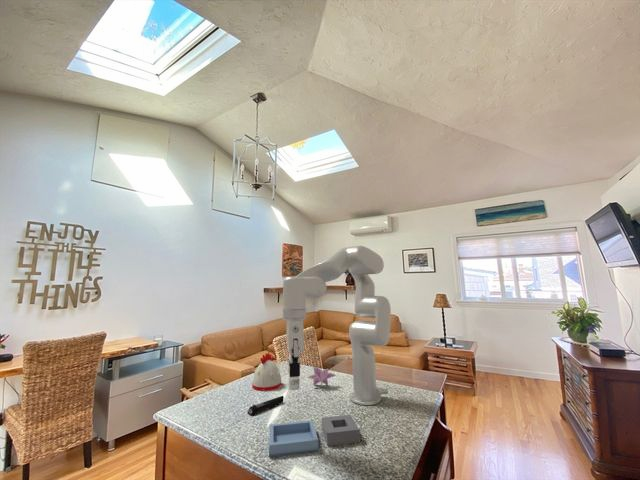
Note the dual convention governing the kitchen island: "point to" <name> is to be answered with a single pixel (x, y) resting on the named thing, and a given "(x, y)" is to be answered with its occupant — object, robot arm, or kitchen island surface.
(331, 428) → the gray square hole block
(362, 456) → the kitchen island surface
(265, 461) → the kitchen island surface
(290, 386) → the white rounded cylinder piece
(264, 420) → the kitchen island surface
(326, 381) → the lily
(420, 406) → the kitchen island surface
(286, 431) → the parts tray
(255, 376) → the knit hat
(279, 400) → the electric trimmer
